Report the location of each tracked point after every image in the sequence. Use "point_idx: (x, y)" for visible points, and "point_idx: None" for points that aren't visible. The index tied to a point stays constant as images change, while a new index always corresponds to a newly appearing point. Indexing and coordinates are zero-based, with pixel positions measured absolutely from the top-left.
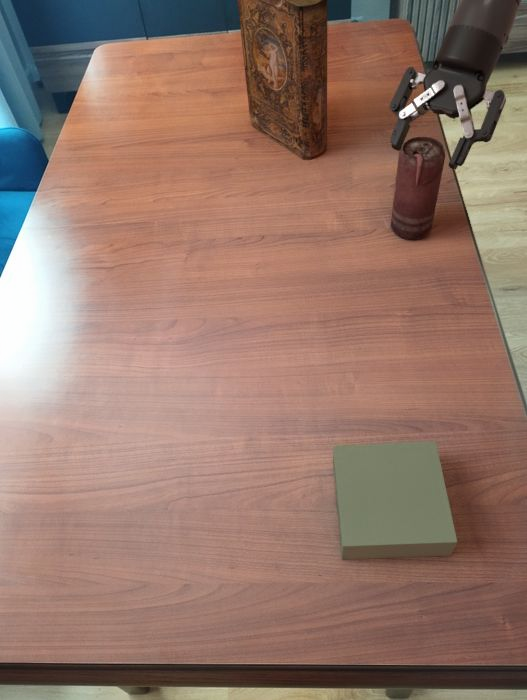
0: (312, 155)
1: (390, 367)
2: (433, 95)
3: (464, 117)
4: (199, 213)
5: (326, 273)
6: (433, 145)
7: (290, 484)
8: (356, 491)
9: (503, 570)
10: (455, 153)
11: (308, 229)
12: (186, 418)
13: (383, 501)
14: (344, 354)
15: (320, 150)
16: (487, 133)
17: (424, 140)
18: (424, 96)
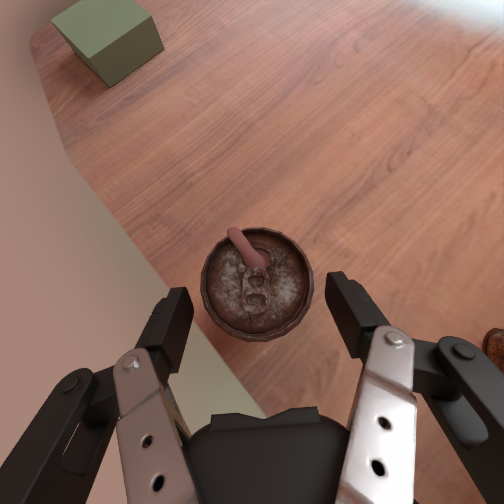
0: (492, 340)
1: (172, 125)
2: (342, 473)
3: (140, 407)
4: (487, 152)
5: (290, 171)
6: (244, 316)
7: (179, 25)
8: (119, 4)
9: (45, 63)
10: (170, 305)
11: (359, 211)
12: (271, 11)
13: (101, 10)
14: (212, 112)
15: (494, 357)
16: (59, 387)
17: (277, 323)
18: (383, 441)
